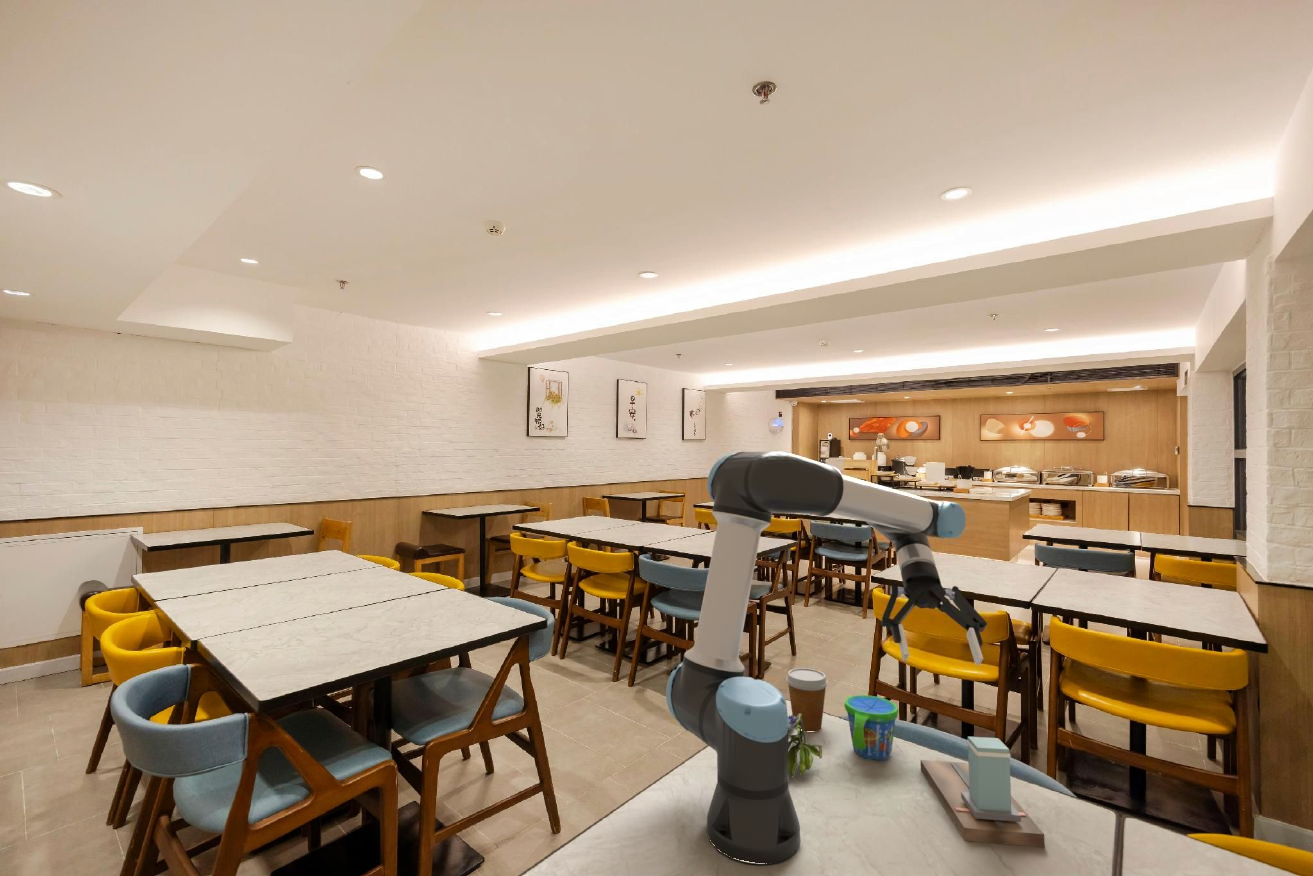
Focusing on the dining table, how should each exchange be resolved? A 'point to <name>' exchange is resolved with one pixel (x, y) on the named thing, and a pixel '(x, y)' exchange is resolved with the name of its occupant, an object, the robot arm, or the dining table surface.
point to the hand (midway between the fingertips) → (942, 659)
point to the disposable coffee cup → (807, 696)
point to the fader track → (948, 788)
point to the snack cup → (871, 725)
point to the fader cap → (989, 780)
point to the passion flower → (800, 747)
